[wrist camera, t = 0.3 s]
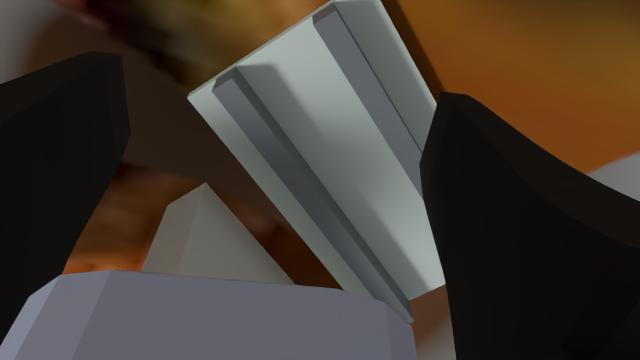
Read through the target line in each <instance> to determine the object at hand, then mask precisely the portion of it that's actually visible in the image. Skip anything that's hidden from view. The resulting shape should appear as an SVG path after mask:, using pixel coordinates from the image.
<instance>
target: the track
mask: <svg viewBox="0 0 640 360" xmlns="http://www.w3.org/2000/svg"><path fill="white" fill-rule="evenodd" d="M187 99H188V100H189V101H190V102H191V103H192V105H193V106H194V107H195V108H196V109H197V111H198V112H199V113H200V114H201V116H202V117H203V118H204V119H205V120H206V122H207V123H208V124H209V125H210V126H211V128H212V129H213V130H214V132H215V133H216V134H217V135H218V136H219V138H220V139H221V140H222V141H223V143H224V144H225V145H226V146H227V147H228V149H229V150H230V151H231V152H232V154H233V155H234V156H235V157H236V158H237V160H238V161H239V162H240V163H241V165H242V166H243V167H244V168H245V169H246V171H247V172H248V173H249V174H250V176H251V177H252V178H253V179H254V181H255V182H256V183H257V184H258V185H259V187H260V188H261V189H262V190H263V192H264V193H265V194H266V195H267V196H268V198H269V199H270V200H271V201H272V203H274V205H275V206H276V207H277V208H278V210H279V211H280V212H281V213H282V215H283V216H284V217H285V218H286V220H287V221H288V222H289V223H290V225H291V226H292V227H293V228H294V229H295V231H296V232H297V233H298V234H299V236H300V237H301V238H302V239H303V240H304V242H305V243H306V244H307V245H308V247H309V248H310V249H311V250H312V251H313V253H314V254H315V255H316V256H317V258H318V259H319V260H320V261H321V262H322V264H323V265H324V266H325V267H326V269H327V270H328V271H329V272H330V273H331V275H332V276H333V277H334V278H335V280H336V281H337V282H338V283H339V285H340V286H341V287H342V288H343V289H344V291H347V292H351V293H354V294H358V295H361V296H365V297H369V298H372V299H376V300H379V301H382V302H385V303H386V304H387V305H388V306H389V307H390V308H391V309H392V310H393V311H394V312H396V313H397V314H398V315H399V316H400V317H401V318H402V319H403V320H404V321H405V322H406V323H407V324H409V323H411V322H413V321H414V318H413V314H412V311H411V307H410V303H409V301H410V300H412V299H414V298H416V297H419V296H421V295H423V294H425V293H427V292H429V291H431V290H434V289H436V288H438V287H440V286H442V285H444V284H445V279H444V275H443V271H442V267H441V263H440V260H439V256H438V253H437V249H436V245H435V242H434V238H433V234H432V231H431V227H430V224H429V220H428V216H427V212H426V209H425V205H424V201H423V195H422V187H421V178H420V167H419V163H420V160H421V156H422V153H423V150H424V146H425V143H426V139H427V136H428V133H429V129H430V126H431V123H432V119H433V116H434V112H435V109H436V106H437V104H436V102H435V100H434V98H433V96H432V94H431V93H430V91H429V89H428V87H427V85H426V83H425V82H424V80H423V78H422V76H421V74H420V72H419V71H418V69H417V67H416V65H415V63H414V61H413V60H412V58H411V56H410V54H409V52H408V50H407V49H406V47H405V45H404V43H403V41H402V39H401V38H400V36H399V34H398V32H397V30H396V28H395V27H394V25H393V23H392V21H391V19H390V17H389V16H388V14H387V12H386V10H385V8H384V6H383V5H382V3H381V1H380V0H330V1H329V2H327V3H326V4H324V5H323V6H321V7H320V8H318V9H317V10H315V11H314V12H312V13H310V14H309V15H307V16H306V17H304V18H303V19H301V20H300V21H298V22H297V23H295V24H294V25H292V26H291V27H289V28H288V29H286V30H285V31H283V32H282V33H280V34H279V35H277V36H276V37H274V38H273V39H271V40H269V41H268V42H266V43H265V44H263V45H262V46H260V47H259V48H257V49H256V50H254V51H253V52H251V53H250V54H248V55H247V56H245V57H244V58H242V59H241V60H239V61H238V62H236V63H235V64H233V65H232V66H230V67H228V68H227V69H225V70H224V71H222V72H221V73H219V74H218V75H216V76H215V77H213V78H212V79H210V80H209V81H207V82H206V83H204V84H203V85H201V86H200V87H198V88H197V89H195V90H194V91H192V92H191V93H189V95H188V97H187Z"/></svg>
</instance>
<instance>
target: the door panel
mask: <svg viewBox="0 0 640 360" xmlns="http://www.w3.org/2000/svg"><path fill="white" fill-rule="evenodd" d="M141 272H151V273H163V274H174V275H186V276H197V277H209V278H221V279H232V280H244V281H255V282H267V283H278V284H290V285H296V284H295V283H294V282H293V281H292V280H291V279H290V278H289V276H288V275H287V274H286V273H285V272H284V271H283V270H282V269H281V267H280V266H279V265H278V264H277V263H276V262H275V261H274V259H273V258H272V257H271V256H270V255H269V254H268V253H267V251H266V250H265V249H264V248H263V247H262V246H261V245H260V243H259V242H258V241H257V240H256V239H255V238H254V237H253V236H252V234H251V233H250V232H249V231H248V230H247V229H246V228H245V226H244V225H243V224H242V223H241V222H240V221H239V220H238V218H237V217H236V216H235V215H234V214H233V213H232V212H231V210H230V209H229V208H228V207H227V206H226V205H225V204H224V202H223V201H222V200H221V199H220V198H219V197H218V196H217V195H216V193H215V192H214V191H213V190H212V189H211V188H210V187H209V184H208V183H207V182H204V184H202V185H200V186H199V187H197V188H195V189H194V190H192V191H190V192H189V193H187V194H185V195H184V196H182V197H180V198H179V199H177V200H175V201H174V202H172V203H170V204H169V205H168V206H167V208H166V211H165V213H164V215H163V218H162V220H161V223H160V225H159V228H158V230H157V233H156V235H155V237H154V240H153V242H152V245H151V247H150V250H149V252H148V254H147V257H146V259H145V262H144V264H143V267H142V269H141Z"/></svg>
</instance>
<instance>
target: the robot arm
mask: <svg viewBox="0 0 640 360" xmlns="http://www.w3.org/2000/svg"><path fill="white" fill-rule="evenodd" d="M129 137H130V126H129V117H128V109H127V101H126V92H125V84H124V76H123V68H122V59H121V55H120V54H111V53H103V52H94V51H92V52H87V53H83V54H80V55H77V56H74V57H71V58H68V59H66V60H63V61H60V62H58V63H55V64H52V65H50V66H47V67H45V68H42V69H40V70H37V71H34V72H32V73H29V74H27V75H24V76H22V77H19V78H16V79H13V80H10V81H8V82H5V83H2V84H0V360H417V354H416V348H415V342H414V336H413V330H412V327H411V326H410V325H408V324H407V323H406V322H405V321H404V320H403V319H402V318H401V317H400V316H399V315H398V314H397V313H396V312H394V311H393V310H392V309H391V308H390V307H389V306H388V305H387V304H386V303H385V302H382V301H379V300H376V299H372V298H369V297H365V296H361V295H358V294H354V293H351V292H347V291H343V290H340V289H336V288H324V287H313V286H301V285H290V284H278V283H267V282H255V281H244V280H232V279H221V278H209V277H197V276H186V275H174V274H163V273H151V272H140V271H128V270H117V269H115V270H105V271H94V272H84V273H74V274H64V275H62V272H63V270H64V267H65V265H66V263H67V260H68V258H69V256H70V254H71V252H72V250H73V248H74V246H75V244H76V242H77V240H78V238H79V236H80V235H81V233H82V231H83V229H84V228H85V226H86V224H87V222H88V221H89V219H90V217H91V215H92V214H93V212H94V210H95V208H96V207H97V205H98V203H99V201H100V200H101V198H102V196H103V194H104V193H105V191H106V189H107V187H108V185H109V184H110V182H111V180H112V178H113V176H114V175H115V173H116V171H117V169H118V167H119V164H120V162H121V159H122V157H123V154H124V151H125V148H126V145H127V142H128V139H129ZM419 167H420V178H421V187H422V195H423V201H424V205H425V209H426V212H427V216H428V220H429V224H430V227H431V231H432V234H433V238H434V242H435V245H436V249H437V253H438V256H439V260H440V263H441V267H442V271H443V275H444V279H445V284H446V288H447V294H448V301H449V307H450V314H451V321H452V328H453V336H454V344H455V352H456V360H640V201H637V200H635V199H632V198H631V197H629V196H626V195H624V194H622V193H620V192H618V191H616V190H614V189H612V188H610V187H607V186H605V185H603V184H602V183H600V182H598V181H596V180H594V179H592V178H590V177H589V176H587V175H585V174H583V173H581V172H580V171H578V170H576V169H574V168H572V167H571V166H569V165H567V164H566V163H564V162H563V161H561V160H559V159H558V158H556V157H555V156H553V155H552V154H550V153H549V152H547V151H546V150H544V149H543V148H541V147H540V146H538V145H537V144H535V143H534V142H533V141H531V140H530V139H528V138H527V137H526V136H524V135H523V134H521V133H520V132H519V131H517V130H516V129H515V128H513V127H512V126H511V125H509V124H508V123H507V122H505V121H504V120H503V119H501V118H500V117H499V116H497V115H496V114H495V113H494V112H492V111H491V110H490V109H488V108H487V107H485V106H484V105H483V104H481V103H480V102H478V101H477V100H475V99H474V98H472V97H470V96H468V95H466V94H457V93H449V92H440V96H439V99H438V102H437V106H436V109H435V112H434V116H433V119H432V123H431V126H430V129H429V133H428V136H427V139H426V143H425V146H424V150H423V153H422V156H421V160H420V163H419Z"/></svg>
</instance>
